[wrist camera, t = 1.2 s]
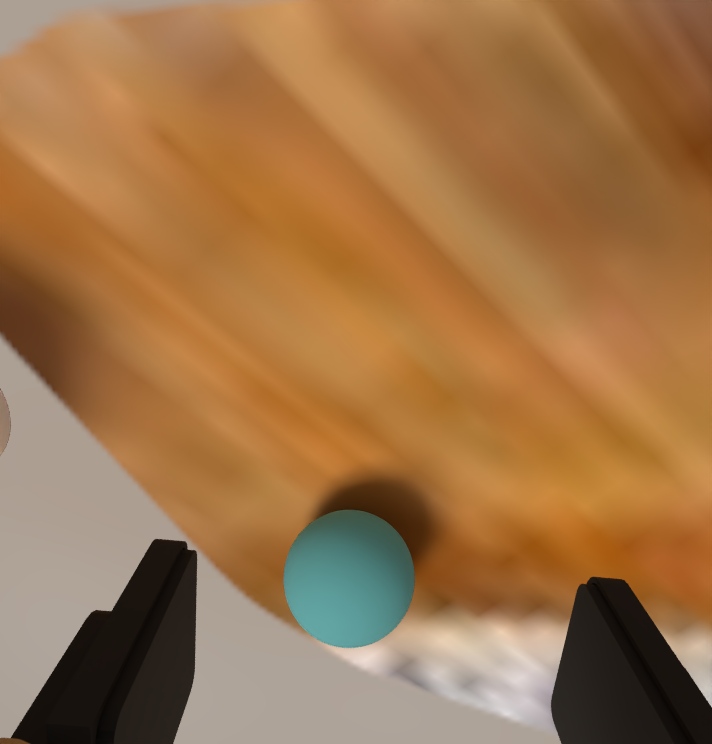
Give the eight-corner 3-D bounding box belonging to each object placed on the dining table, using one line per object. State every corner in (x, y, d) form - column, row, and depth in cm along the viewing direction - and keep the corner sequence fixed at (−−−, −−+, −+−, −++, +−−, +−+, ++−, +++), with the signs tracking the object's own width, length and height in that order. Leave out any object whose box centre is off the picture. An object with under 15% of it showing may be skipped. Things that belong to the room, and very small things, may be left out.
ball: (416, 492, 30) (429, 565, 24) (402, 594, 32) (411, 685, 26) (295, 481, 30) (279, 551, 24) (287, 585, 32) (271, 673, 26)
